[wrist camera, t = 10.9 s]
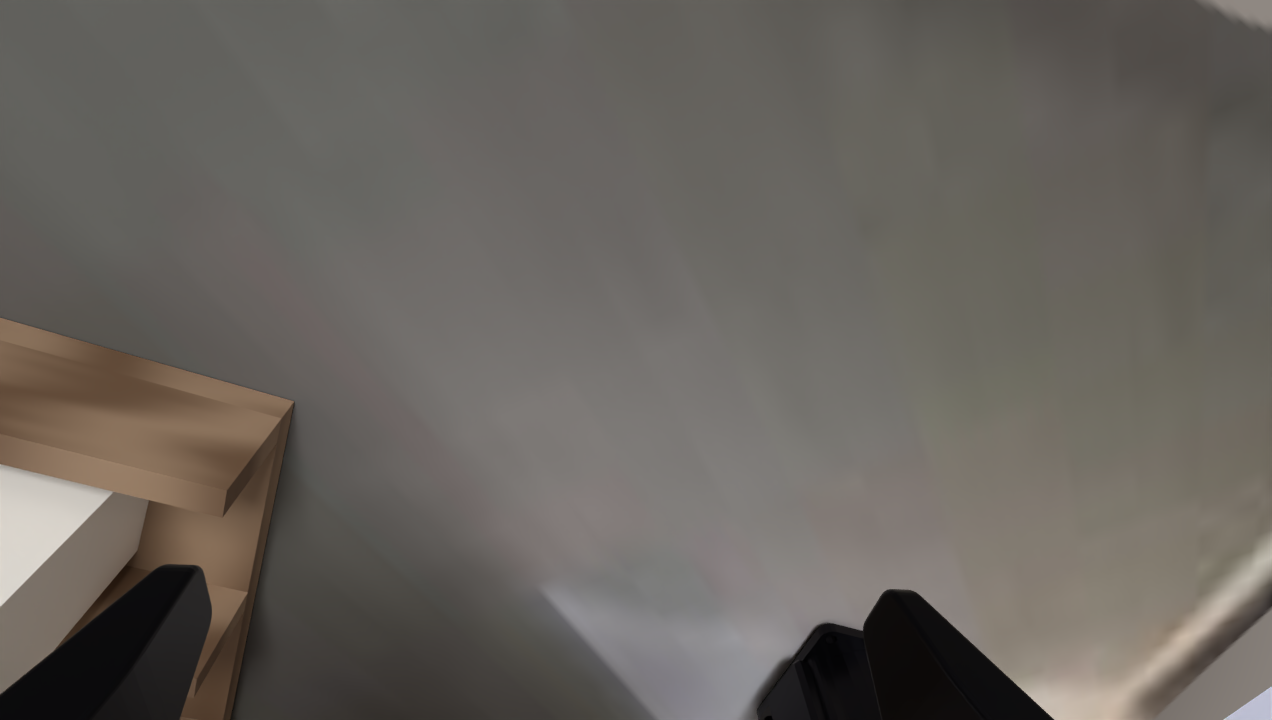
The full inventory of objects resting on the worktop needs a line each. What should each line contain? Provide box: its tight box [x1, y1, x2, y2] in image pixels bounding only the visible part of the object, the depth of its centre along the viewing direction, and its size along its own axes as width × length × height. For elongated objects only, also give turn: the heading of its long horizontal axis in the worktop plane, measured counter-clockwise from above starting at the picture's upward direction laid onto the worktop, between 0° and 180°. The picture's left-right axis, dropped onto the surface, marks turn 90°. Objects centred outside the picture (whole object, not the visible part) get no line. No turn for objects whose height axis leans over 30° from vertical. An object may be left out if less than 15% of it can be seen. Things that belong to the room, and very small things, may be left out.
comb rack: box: [0, 318, 294, 720], centre depth 24 cm, size 12×25×4 cm, turn 158°
